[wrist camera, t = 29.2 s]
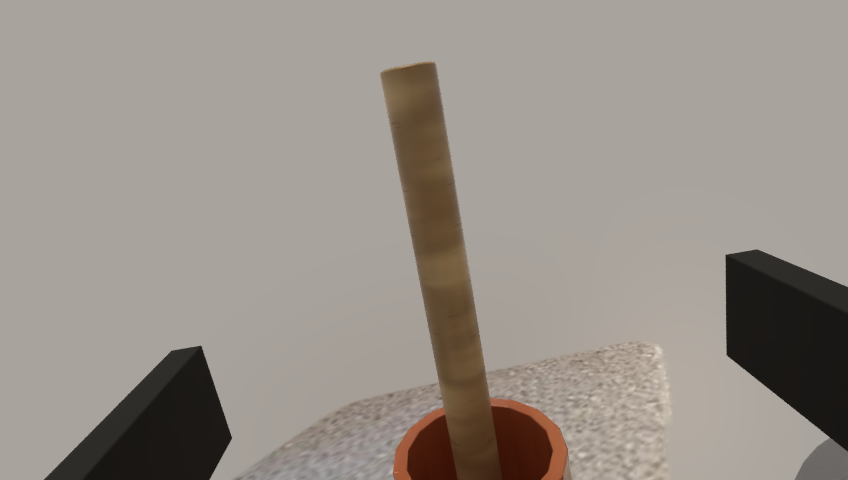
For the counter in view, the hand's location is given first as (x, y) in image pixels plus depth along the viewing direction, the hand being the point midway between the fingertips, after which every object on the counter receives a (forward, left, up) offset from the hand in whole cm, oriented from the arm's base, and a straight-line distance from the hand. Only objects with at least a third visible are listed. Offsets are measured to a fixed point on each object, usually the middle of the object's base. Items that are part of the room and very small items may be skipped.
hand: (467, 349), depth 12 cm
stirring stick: (+3, -6, -17) cm, 18 cm away
